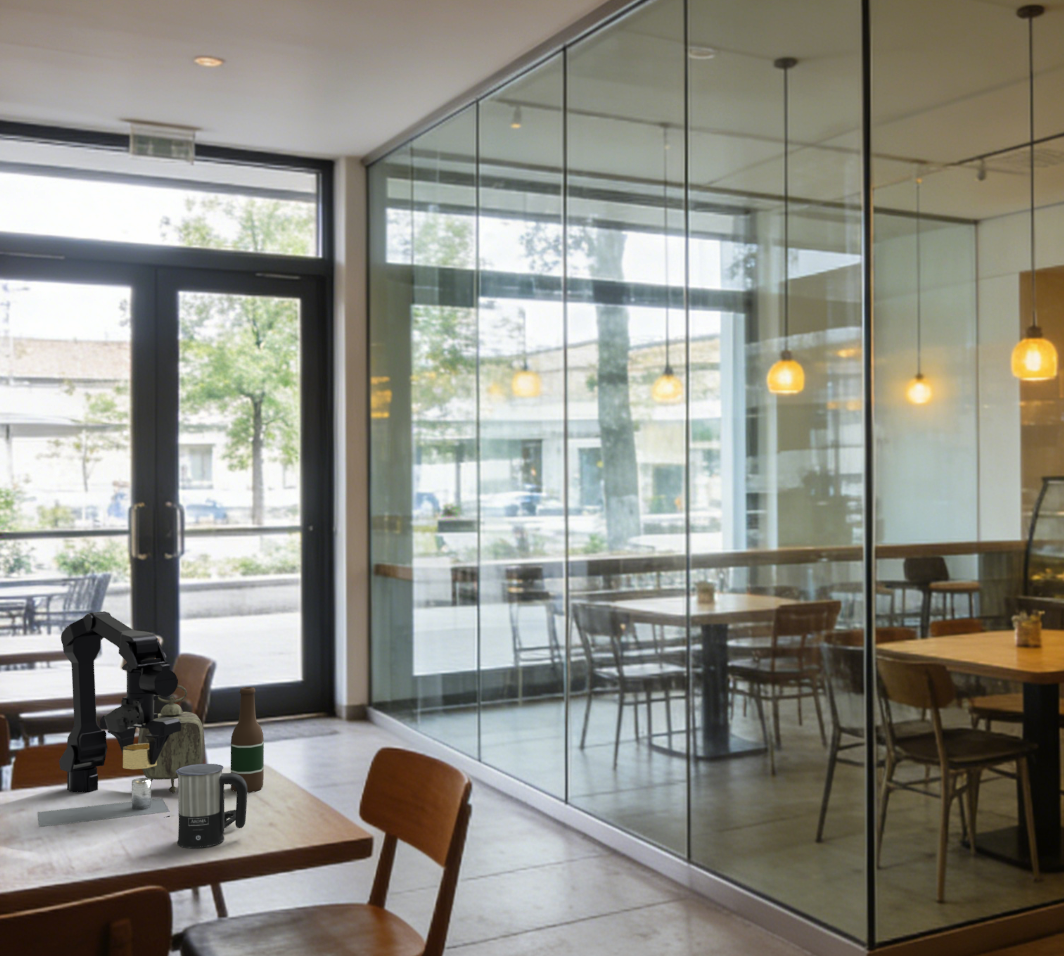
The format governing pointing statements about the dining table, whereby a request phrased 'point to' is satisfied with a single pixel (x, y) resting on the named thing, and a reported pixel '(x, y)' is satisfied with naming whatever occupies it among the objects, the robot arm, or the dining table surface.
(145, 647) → the robot arm
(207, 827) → the milk frother
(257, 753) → the beer bottle
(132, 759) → the brass ring
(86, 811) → the fit board
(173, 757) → the tabletop clock
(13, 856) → the dining table surface
